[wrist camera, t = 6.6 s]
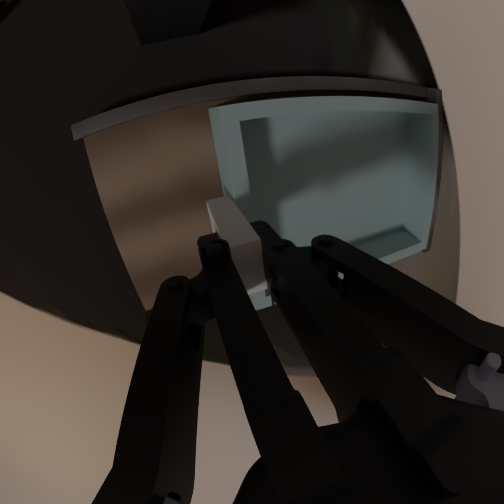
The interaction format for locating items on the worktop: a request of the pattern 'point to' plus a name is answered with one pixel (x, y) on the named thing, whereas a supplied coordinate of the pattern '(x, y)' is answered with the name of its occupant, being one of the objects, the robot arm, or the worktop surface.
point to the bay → (191, 166)
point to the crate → (332, 170)
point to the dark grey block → (166, 18)
